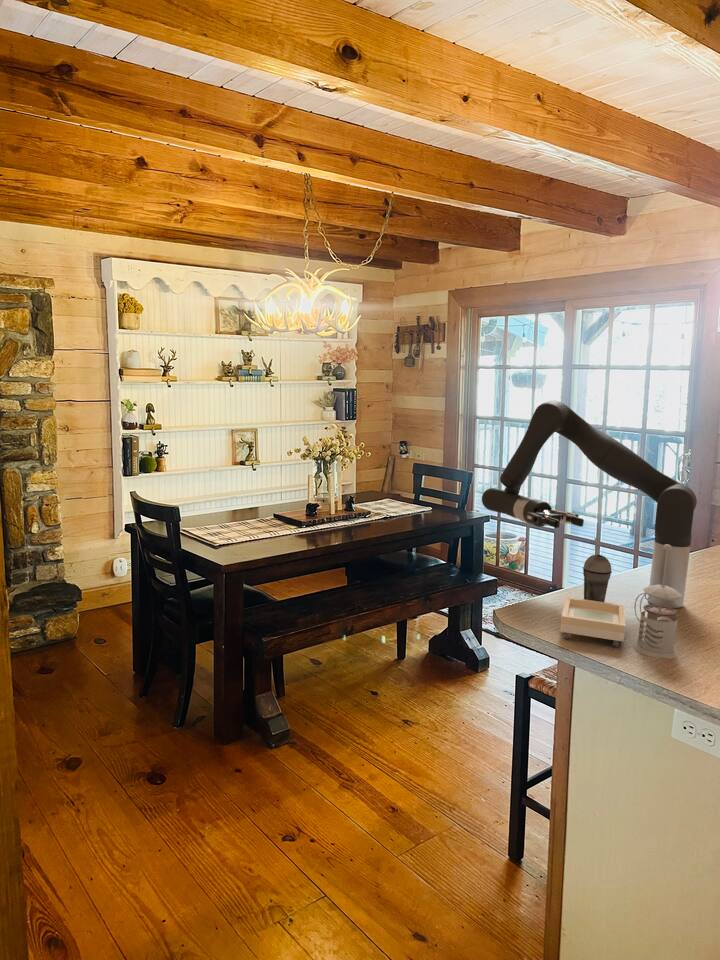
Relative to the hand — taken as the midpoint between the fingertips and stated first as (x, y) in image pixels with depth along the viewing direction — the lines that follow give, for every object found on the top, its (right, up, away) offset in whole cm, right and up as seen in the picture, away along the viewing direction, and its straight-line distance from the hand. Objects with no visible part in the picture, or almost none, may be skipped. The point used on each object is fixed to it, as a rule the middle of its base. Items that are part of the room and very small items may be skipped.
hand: (570, 523), depth 194 cm
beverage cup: (+4, -23, -7) cm, 24 cm away
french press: (+10, -27, -30) cm, 42 cm away
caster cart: (-2, -25, -23) cm, 34 cm away
